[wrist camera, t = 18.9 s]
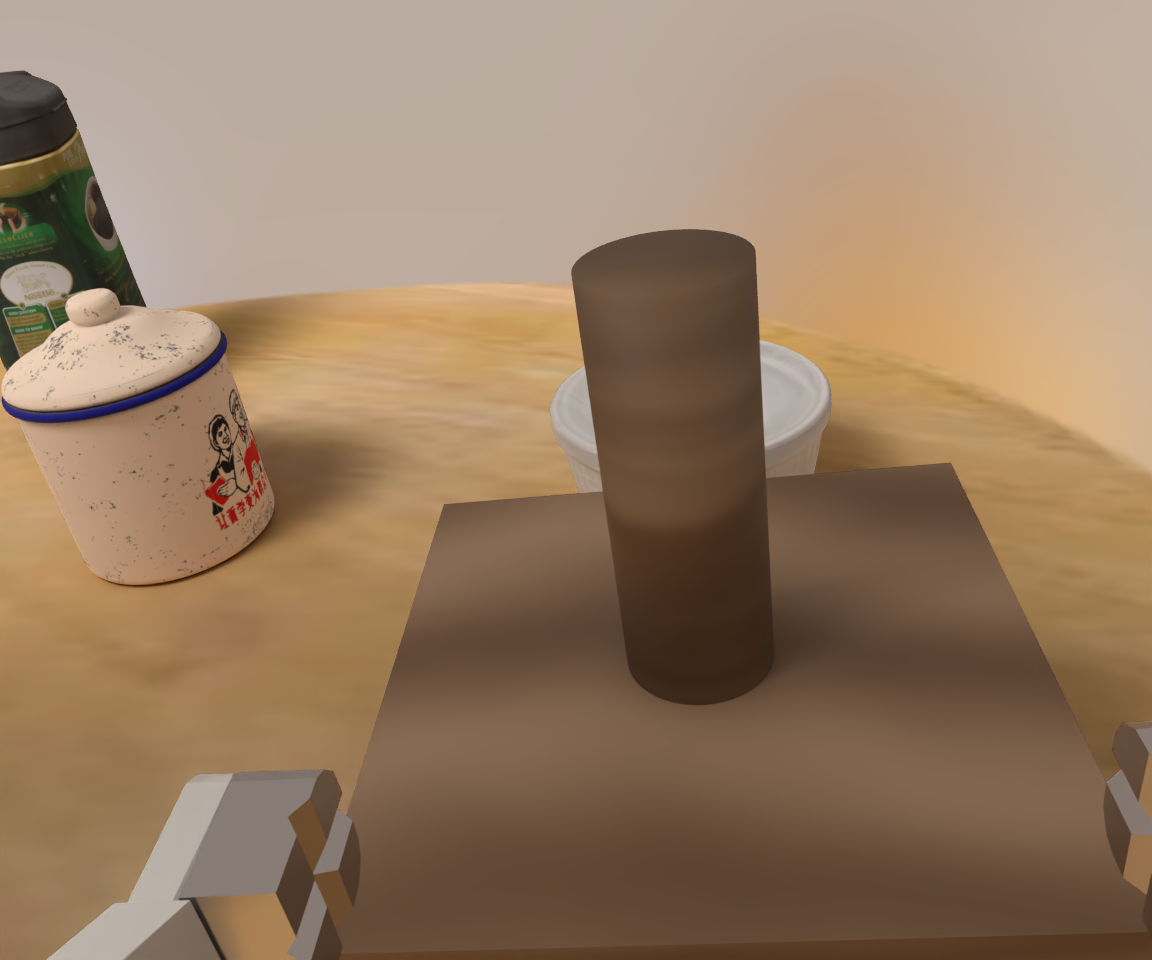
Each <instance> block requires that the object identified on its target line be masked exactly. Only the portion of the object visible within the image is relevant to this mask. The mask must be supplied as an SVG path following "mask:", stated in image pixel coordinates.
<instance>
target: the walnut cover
mask: <svg viewBox="0 0 1152 960" xmlns="http://www.w3.org/2000/svg"><path fill="white" fill-rule="evenodd" d="M572 281H573V288H574V295H575V302H576V309H577V316H578V323H579V330H580V337H581V343H582V350H583V357H584V364H585V371H586V378H587V385H588V392H589V399H590V406H591V413H592V419H593V426H594V433H595V440H596V447H597V454H598V461H599V468H600V475H601V482H602V489H603V491H601V492H589V493H577V494H565V495H553V496H540V497H528V498H516V499H504V500H492V501H480V502H468V503H455V504H444V506H443V509H442V512H441V516H440V519H439V522H438V525H437V528H436V532H435V535H434V538H433V541H432V544H431V548H430V551H429V554H428V557H427V560H426V564H425V567H424V570H423V573H422V576H421V580H420V583H419V586H418V589H417V592H416V596H415V599H414V602H413V605H412V608H411V611H410V615H409V618H408V621H407V624H406V627H405V631H404V634H403V637H402V640H401V643H400V647H399V650H398V653H397V656H396V659H395V663H394V666H393V669H392V672H391V675H390V679H389V682H388V685H387V688H386V691H385V695H384V698H383V701H382V704H381V707H380V711H379V714H378V717H377V720H376V723H375V726H374V730H373V733H372V736H371V739H370V742H369V746H368V749H367V752H366V755H365V758H364V762H363V765H362V768H361V771H360V774H359V778H358V781H357V784H356V787H355V790H354V794H353V797H352V800H351V803H350V806H349V810H348V813H347V817H349V818H350V819H351V820H353V823H354V826H355V829H356V831H357V834H358V839H359V846H360V853H361V865H360V881H359V887H358V891H357V895H356V899H355V903H354V907H353V909H352V910H351V911H350V912H349V913H348V914H347V915H346V916H345V917H344V918H343V919H342V920H341V921H340V922H339V923H338V924H337V925H336V926H335V928H336V931H337V933H338V935H339V938H340V940H341V943H342V945H343V947H342V951H341V955H340V958H339V960H1152V938H1151V936H1150V934H1149V932H1148V930H1147V928H1146V926H1145V924H1144V922H1143V919H1142V914H1143V910H1144V905H1145V900H1146V896H1147V895H1146V894H1145V893H1143V892H1142V891H1141V890H1139V889H1138V888H1137V887H1135V886H1134V885H1133V884H1131V883H1130V882H1128V881H1127V880H1126V879H1124V878H1123V876H1122V874H1121V872H1120V870H1119V868H1118V865H1117V863H1116V861H1115V859H1114V856H1113V854H1112V851H1111V847H1110V844H1109V841H1108V838H1107V834H1106V828H1105V819H1104V810H1103V803H1104V795H1105V788H1106V781H1105V779H1104V777H1103V775H1102V773H1101V771H1100V768H1099V766H1098V764H1097V762H1096V760H1095V758H1094V756H1093V754H1092V752H1091V750H1090V748H1089V746H1088V744H1087V742H1086V740H1085V738H1084V736H1083V734H1082V731H1081V729H1080V727H1079V725H1078V723H1077V721H1076V719H1075V717H1074V715H1073V713H1072V711H1071V709H1070V707H1069V705H1068V703H1067V701H1066V699H1065V697H1064V695H1063V692H1062V690H1061V688H1060V686H1059V684H1058V682H1057V680H1056V678H1055V676H1054V674H1053V672H1052V670H1051V668H1050V666H1049V664H1048V662H1047V660H1046V658H1045V655H1044V653H1043V651H1042V649H1041V647H1040V645H1039V643H1038V641H1037V639H1036V637H1035V635H1034V633H1033V631H1032V629H1031V627H1030V625H1029V623H1028V621H1027V618H1026V616H1025V614H1024V612H1023V610H1022V608H1021V606H1020V604H1019V602H1018V600H1017V598H1016V596H1015V594H1014V592H1013V590H1012V588H1011V586H1010V584H1009V582H1008V579H1007V577H1006V575H1005V573H1004V571H1003V569H1002V567H1001V565H1000V563H999V561H998V559H997V557H996V555H995V553H994V551H993V549H992V547H991V545H990V542H989V540H988V538H987V536H986V534H985V532H984V530H983V528H982V526H981V524H980V522H979V520H978V518H977V516H976V514H975V512H974V510H973V508H972V505H971V503H970V501H969V499H968V497H967V495H966V493H965V491H964V489H963V487H962V485H961V483H960V481H959V479H958V477H957V475H956V473H955V471H954V469H953V466H952V464H951V463H941V464H929V465H917V466H905V467H893V468H881V469H869V470H856V471H844V472H832V473H820V474H808V475H796V476H784V477H771V478H766V467H765V445H764V424H763V402H762V381H761V360H760V338H759V317H758V296H757V274H756V254H755V249H754V246H753V245H752V244H751V243H750V242H748V241H747V240H746V239H743V238H741V237H739V236H736V235H733V234H729V233H725V232H719V231H711V230H697V229H688V230H687V229H683V230H667V231H658V232H650V233H645V234H639V235H635V236H630V237H626V238H623V239H619V240H616V241H613V242H610V243H607V244H605V245H602V246H600V247H597V248H596V249H593V250H591V251H590V252H588V253H586V254H585V255H583V256H582V257H581V258H580V259H579V260H577V262H576V263H575V264H574V266H573V268H572Z"/></svg>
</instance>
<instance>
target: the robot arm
mask: <svg viewBox="0 0 1152 960" xmlns="http://www.w3.org/2000/svg"><path fill="white" fill-rule="evenodd" d="M1112 751H1113V753H1114V755H1115V757H1116V759H1117V761H1118V763H1119V765H1120V767H1121V770H1119V771H1118V772H1117V773H1116V774H1115V775H1114V776H1113V777H1111V778H1110V779H1109V780H1108V781H1107V782H1106V788H1105V795H1104V803H1103V810H1104V819H1105V828H1106V834H1107V838H1108V841H1109V844H1110V847H1111V851H1112V854H1113V856H1114V859H1115V861H1116V863H1117V865H1118V868H1119V870H1120V872H1121V874H1122V876H1123V878H1124V879H1126V880H1127V881H1128V882H1130V883H1131V884H1133V885H1134V886H1135V887H1137V888H1138V889H1139V890H1141V891H1142V892H1143V893H1145V894H1146V895H1147V896H1146V900H1145V905H1144V910H1143V914H1142V919H1143V922H1144V924H1145V926H1146V928H1147V930H1148V932H1149V934H1150V936H1151V938H1152V721H1141V722H1127V723H1122V725H1121V726H1120V727H1119V729H1118V730H1117V731H1116V734H1115V739H1114V744H1113V749H1112ZM341 795H342V791H341V788H340V786H339V784H338V781H337V779H336V777H335V774H334V772H333V771H329V770H293V771H261V772H240V773H221V774H197V775H196V776H195V777H193V778H192V779H191V780H190V781H189V782H188V783H187V784H186V785H185V786H184V788H183V790H182V792H181V794H180V796H179V798H178V800H177V802H176V804H175V806H174V808H173V810H172V812H171V814H170V816H169V818H168V820H167V822H166V824H165V827H164V829H163V831H162V833H161V835H160V837H159V839H158V841H157V843H156V845H155V847H154V849H153V851H152V853H151V855H150V857H149V859H148V861H147V863H146V865H145V867H144V869H143V871H142V873H141V875H140V877H139V879H138V881H137V883H136V885H135V887H134V889H133V891H132V893H131V895H130V897H129V899H128V902H124V903H114V904H112V905H111V906H110V907H109V908H108V909H106V910H105V911H104V912H103V913H102V914H100V915H99V916H98V917H97V918H96V919H94V920H93V921H92V922H91V923H90V924H88V925H87V926H86V927H85V928H84V929H82V930H81V931H80V932H79V933H78V934H76V935H75V936H74V937H73V938H72V939H70V940H69V941H68V942H67V943H66V944H64V945H63V946H62V947H61V948H60V949H58V950H57V951H56V952H55V953H54V954H52V955H51V956H50V957H49V958H48V959H46V960H339V958H340V955H341V951H342V947H343V945H342V943H341V940H340V938H339V935H338V933H337V931H336V928H335V926H336V925H337V924H338V923H339V922H340V921H341V920H342V919H343V918H344V917H345V916H346V915H347V914H348V913H349V912H350V911H351V910H352V909H353V907H354V903H355V899H356V895H357V891H358V887H359V881H360V865H361V853H360V846H359V839H358V834H357V831H356V829H355V826H354V823H353V820H351V819H350V818H349V817H347V816H346V815H344V814H343V813H342V812H340V811H339V810H337V808H338V804H339V801H340V798H341Z"/></svg>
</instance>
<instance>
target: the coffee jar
mask: <svg viewBox="0 0 1152 960" xmlns="http://www.w3.org/2000/svg"><path fill="white" fill-rule="evenodd" d="M66 101H67V98H65V97H64V95H63V93H62V91H61V90H60V88H59V87H58V86H56V85H55V84H53V83H50V82H49V81H46V80H43V79H41V78H38V77H35V76H32V75H31V74H29V73H28V72H26V71H13V72H4V73H0V357H1V360H2V362H3V365H4V367H5V369H6V372H7V371H8V370H9V369H10V367H11V366H12V365H13V364H14V363H15V362H16V361H18V360H19V359H20V358H21V357H23V356H24V355H25V354H27V353H28V352H30V351H31V350H33V349H35V348H36V347H38V346H40V345H42V344H43V343H44V342H45V341H46V339H47V338H48V337H49V336H50V334H51V333H53V332H54V331H55V330H56V329H57V328H58V327H60V326H61V325H63V324H64V323H66V322H68V321H70V319H69V317H68V315H67V312H66V310H65V306H66V303H67V301H68V299H70V298H71V297H72V296H74V295H76V294H78V293H81V292H84V291H87V290H92V289H99V288H104V289H108V290H110V291H112V292H113V293H115V295H116V296H117V299H118V301H119V304H120V306H140V307H146V304H145V302H144V300H143V297H142V295H141V293H140V290H139V288H138V285H137V283H136V280H135V278H134V276H133V273H132V270H131V268H130V265H129V263H128V260H127V258H126V255H125V252H124V250H123V247H122V245H121V242H120V240H119V237H118V235H117V232H116V230H115V227H114V225H113V222H112V219H111V217H110V214H109V212H108V209H107V207H106V204H105V201H104V199H103V197H102V194H101V191H100V188H99V185H98V183H97V180H96V177H95V175H94V172H93V169H92V166H91V163H90V161H89V158H88V155H87V153H86V149H85V147H84V144H83V141H82V138H81V135H80V133H79V130H78V129H77V128H76V127H77V124H76V122H75V120H74V118H73V115H72V113H71V111H70V109H69V107H68V104H67V102H66ZM146 308H147V307H146Z"/></svg>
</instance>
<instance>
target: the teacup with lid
mask: <svg viewBox="0 0 1152 960" xmlns="http://www.w3.org/2000/svg"><path fill="white" fill-rule="evenodd" d="M65 310H66V312H67V315H68V317H69V319H70V321H68V322H66V323H64V324H63V325H61V326H60V327H58V328H57V329H56V330H55V331H54V332H53V333H51V334H50V336H49V337H48V338H47V339H46V341H45V342H44V343H43V344H42V345H40V346H38V347H36V348H35V349H33V350H31V351H30V352H28V353H27V354H25V355H24V356H23V357H21V358H20V359H19V360H18V361H16V362H15V363H14V364H13V365H12V366H11V367H10V369H9V370H8V371H7V373H6V374H5V376H4V378H3V381H2V387H1V393H2V404H3V407H4V408H5V410H6V411H7V412H8V413H9V414H10V415H12V416H13V417H15V418H16V419H17V421H18V423H19V425H20V427H21V429H22V431H23V433H24V436H25V438H26V440H27V442H28V444H29V446H30V448H31V450H32V452H33V455H34V457H35V459H36V461H37V463H38V465H39V467H40V469H41V471H42V473H43V476H44V478H45V480H46V482H47V484H48V486H49V488H50V490H51V492H52V494H53V497H54V499H55V501H56V503H57V505H58V507H59V509H60V511H61V513H62V516H63V518H64V520H65V522H66V524H67V526H68V528H69V530H70V532H71V534H72V537H73V539H74V541H75V543H76V545H77V547H78V549H79V551H80V553H81V555H82V558H83V560H84V562H85V564H86V565H87V567H88V568H89V569H90V570H91V571H92V572H93V573H94V574H95V575H97V576H98V577H100V578H102V579H105V580H107V581H110V582H114V583H119V584H127V585H145V584H155V583H162V582H167V581H172V580H176V579H180V578H184V577H187V576H190V575H193V574H196V573H199V572H201V571H204V570H206V569H209V568H211V567H213V566H215V565H217V564H219V563H221V562H223V561H225V560H227V559H228V558H230V557H232V556H233V555H235V554H236V553H238V552H239V551H241V550H242V549H244V548H245V547H246V546H248V545H249V544H250V543H251V542H252V541H253V540H254V539H255V538H256V537H257V536H258V535H259V534H260V533H261V532H262V531H263V530H264V528H265V527H266V526H267V524H268V522H269V521H270V519H271V517H272V514H273V511H274V503H275V500H274V495H273V492H272V489H271V486H270V483H269V480H268V477H267V474H266V471H265V468H264V465H263V462H262V460H261V457H260V454H259V451H258V448H257V445H256V442H255V439H254V436H253V433H252V430H251V427H250V425H249V422H248V419H247V416H246V413H245V410H244V407H243V404H242V401H241V398H240V395H239V392H238V390H237V387H236V384H235V381H234V378H233V375H232V372H231V369H230V366H229V363H228V360H227V357H226V355H225V351H226V348H227V340H226V337H225V335H224V333H223V332H222V331H221V330H220V329H219V327H218V326H217V325H216V324H215V323H214V322H213V321H212V320H210V319H209V318H208V317H206V316H204V315H201V314H198V313H195V312H190V311H182V310H160V311H156V310H153V309H149V308H146V307H140V306H120V304H119V301H118V299H117V296H116V295H115V293H113V292H112V291H110V290H108V289H104V288H99V289H92V290H87V291H84V292H81V293H78V294H76V295H74V296H72V297H71V298H70V299H68V301H67V303H66V306H65Z"/></svg>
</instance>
